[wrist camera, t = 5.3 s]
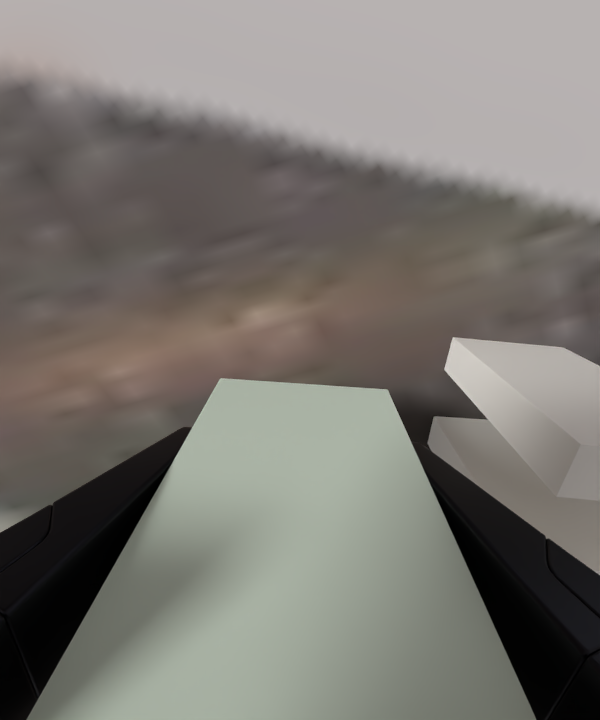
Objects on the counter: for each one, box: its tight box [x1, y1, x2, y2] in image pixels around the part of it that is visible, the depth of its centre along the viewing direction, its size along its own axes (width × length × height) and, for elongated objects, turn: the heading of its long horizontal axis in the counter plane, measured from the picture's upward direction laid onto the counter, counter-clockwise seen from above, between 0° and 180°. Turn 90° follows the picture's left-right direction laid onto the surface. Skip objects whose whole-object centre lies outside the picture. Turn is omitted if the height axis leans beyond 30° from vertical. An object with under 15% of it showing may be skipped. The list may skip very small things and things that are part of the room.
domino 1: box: [444, 337, 600, 501], centre depth 12 cm, size 2×5×8 cm, turn 85°
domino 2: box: [428, 416, 600, 575], centre depth 14 cm, size 2×5×8 cm, turn 87°
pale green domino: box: [27, 378, 536, 720], centre depth 7 cm, size 2×5×8 cm, turn 86°
